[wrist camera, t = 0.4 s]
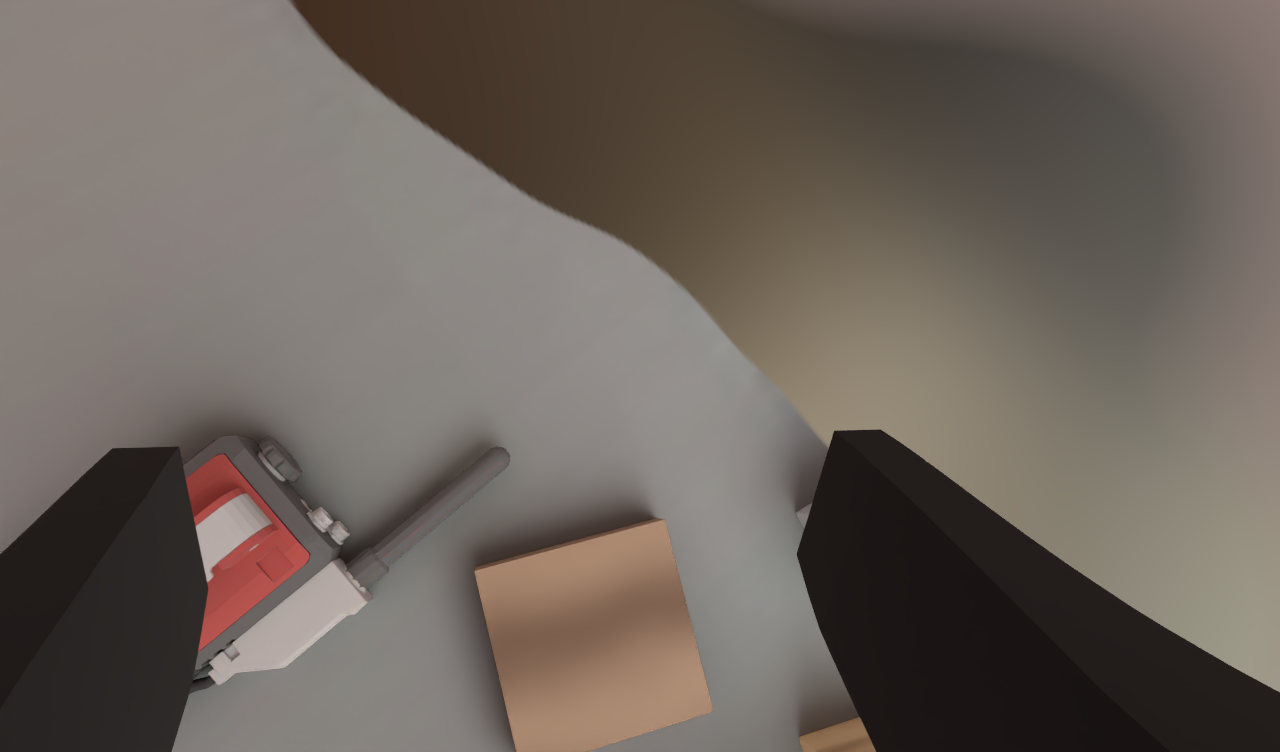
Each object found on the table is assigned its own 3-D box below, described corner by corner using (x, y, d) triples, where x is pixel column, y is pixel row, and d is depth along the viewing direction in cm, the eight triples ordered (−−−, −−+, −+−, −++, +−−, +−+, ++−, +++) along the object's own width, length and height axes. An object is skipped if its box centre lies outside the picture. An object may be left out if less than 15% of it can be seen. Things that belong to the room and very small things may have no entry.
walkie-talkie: (124, 808, 34) (522, 471, 38) (70, 854, 30) (526, 468, 34) (-23, 636, 34) (392, 318, 38) (-98, 657, 30) (379, 295, 34)
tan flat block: (699, 697, 38) (713, 711, 36) (519, 753, 37) (521, 772, 34) (654, 518, 39) (664, 519, 36) (475, 565, 37) (474, 571, 35)
